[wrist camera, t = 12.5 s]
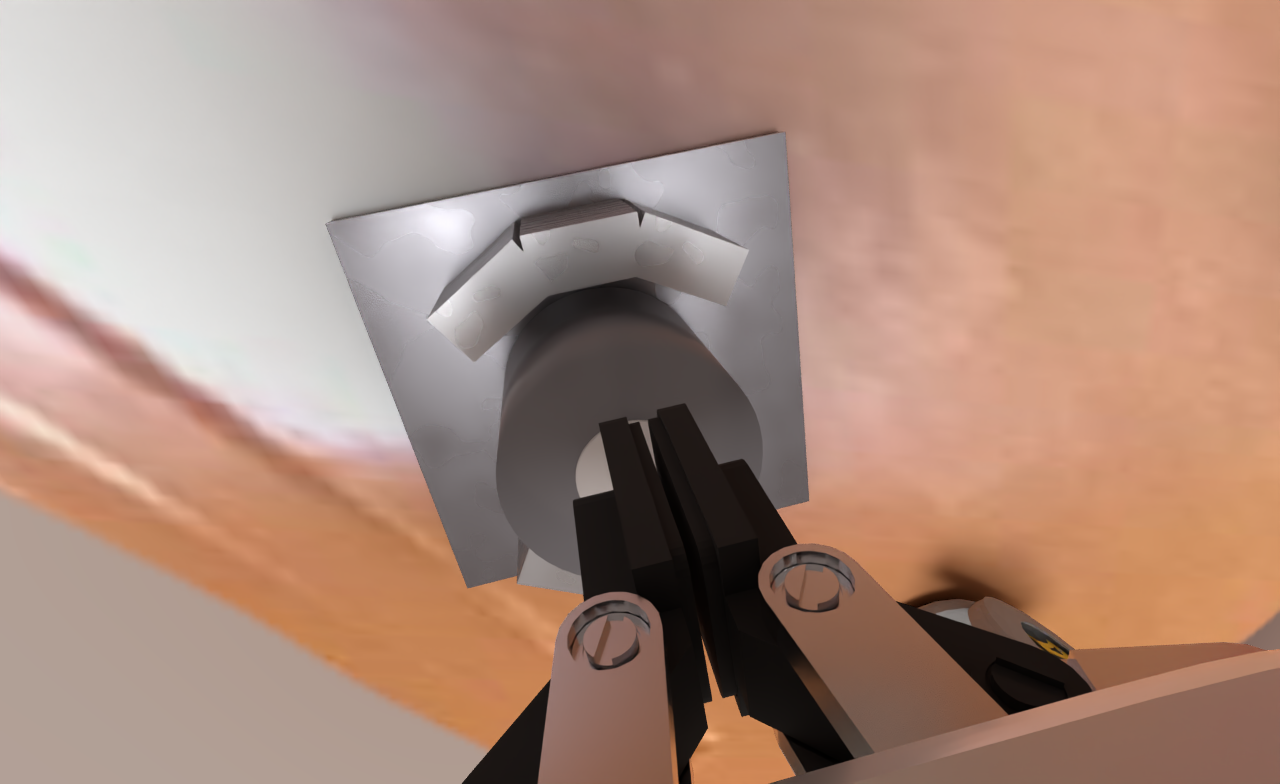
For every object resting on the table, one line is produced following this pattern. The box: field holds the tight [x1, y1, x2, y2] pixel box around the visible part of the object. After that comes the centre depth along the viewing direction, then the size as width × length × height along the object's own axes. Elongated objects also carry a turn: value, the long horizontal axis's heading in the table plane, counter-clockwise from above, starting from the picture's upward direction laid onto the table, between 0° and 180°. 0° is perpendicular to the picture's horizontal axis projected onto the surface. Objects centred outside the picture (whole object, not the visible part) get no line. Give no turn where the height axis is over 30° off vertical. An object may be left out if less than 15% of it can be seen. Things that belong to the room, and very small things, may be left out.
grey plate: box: [326, 132, 809, 594], centre depth 17 cm, size 12×12×4 cm
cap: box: [496, 287, 763, 576], centre depth 15 cm, size 6×6×5 cm
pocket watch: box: [918, 596, 1075, 659], centre depth 21 cm, size 8×8×10 cm
